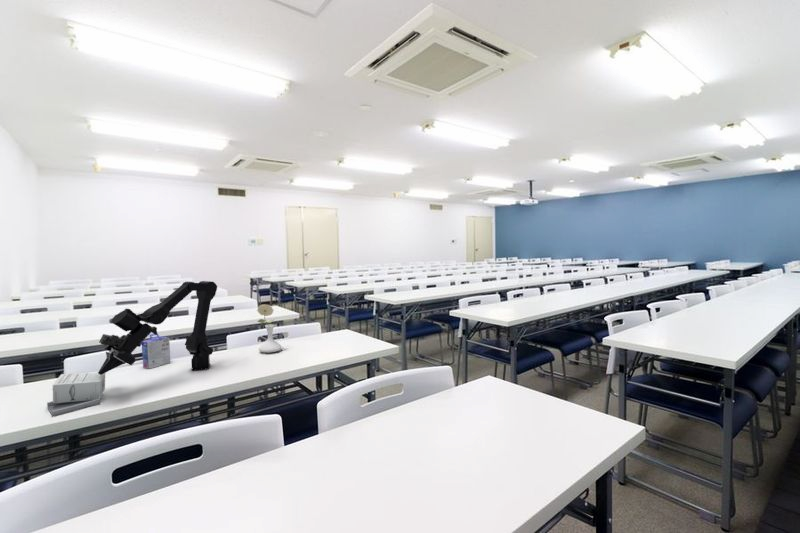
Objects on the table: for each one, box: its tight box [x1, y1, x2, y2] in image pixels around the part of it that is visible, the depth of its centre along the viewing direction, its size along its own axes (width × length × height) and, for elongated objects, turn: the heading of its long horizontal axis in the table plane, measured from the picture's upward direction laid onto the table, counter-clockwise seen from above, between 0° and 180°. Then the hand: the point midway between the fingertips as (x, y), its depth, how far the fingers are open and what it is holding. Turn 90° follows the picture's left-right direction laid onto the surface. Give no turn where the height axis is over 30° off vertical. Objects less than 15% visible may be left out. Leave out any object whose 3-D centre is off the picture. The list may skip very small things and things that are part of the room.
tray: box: [46, 398, 101, 417], centre depth 121 cm, size 12×11×2 cm
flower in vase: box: [256, 304, 283, 354], centre depth 184 cm, size 13×11×25 cm
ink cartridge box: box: [141, 332, 171, 370], centre depth 163 cm, size 10×6×14 cm, turn 153°
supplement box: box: [52, 371, 106, 403], centre depth 125 cm, size 7×7×13 cm
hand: (99, 373), depth 127 cm, fingers closed
